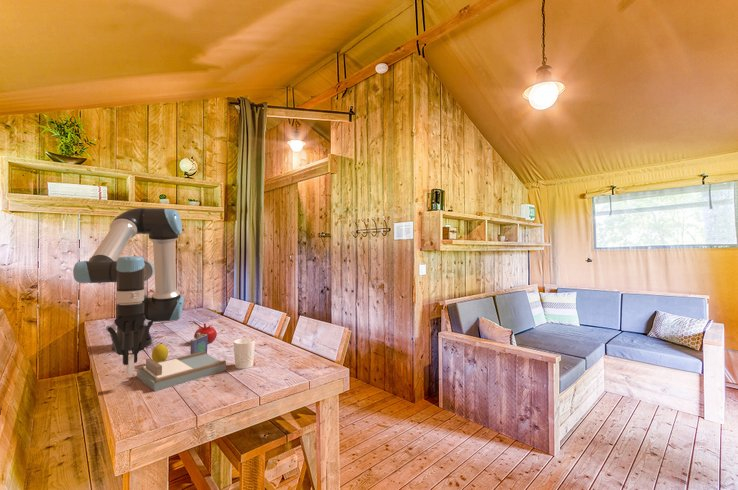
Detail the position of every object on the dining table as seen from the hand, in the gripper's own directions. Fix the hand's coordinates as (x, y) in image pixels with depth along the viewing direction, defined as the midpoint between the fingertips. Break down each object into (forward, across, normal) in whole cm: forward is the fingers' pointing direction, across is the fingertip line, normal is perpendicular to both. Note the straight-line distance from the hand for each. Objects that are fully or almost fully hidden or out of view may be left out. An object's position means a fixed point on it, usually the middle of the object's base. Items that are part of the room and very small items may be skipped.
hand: (130, 373), depth 111 cm
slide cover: (+2, +11, 0) cm, 12 cm away
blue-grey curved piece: (+5, +28, +12) cm, 31 cm away
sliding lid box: (+5, +16, 0) cm, 17 cm away
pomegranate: (+5, +39, +33) cm, 52 cm away
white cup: (+5, +36, -10) cm, 37 cm away
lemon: (+5, +14, +17) cm, 23 cm away
